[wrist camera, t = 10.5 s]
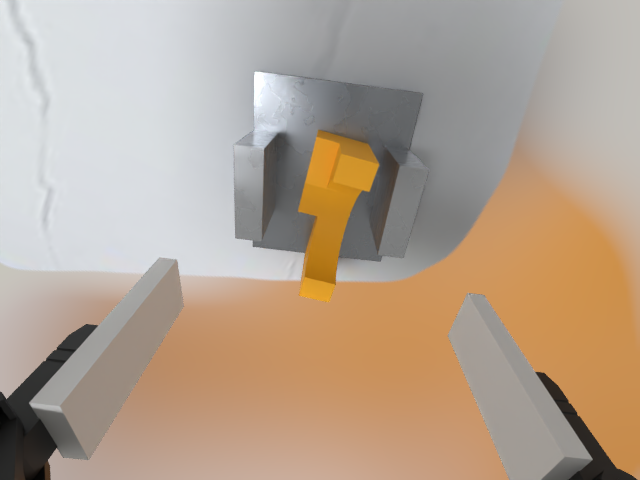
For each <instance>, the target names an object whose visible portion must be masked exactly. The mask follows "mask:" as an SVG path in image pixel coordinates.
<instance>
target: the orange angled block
mask: <svg viewBox="0 0 640 480" xmlns="http://www.w3.org/2000/svg"><path fill="white" fill-rule="evenodd" d="M378 167H379V163H378V161H377V159H376V157H375V155H374V153H373V151H372V150H371V148H370V146H369V144H367V143H363V142H360V141H356V140H353V139H349V138H346V137H342V136H339V135H335V134H332V133H328V132H325V131H321V130H318V133H317V137H316V141H315V145H314V149H313V153H312V157H311V161H310V165H309V169H308V173H307V177H306V181H305V185H304V189H303V193H302V197H301V201H300V205H299V209H298V212H302V213H306V214H310V215H314V216H316V217H315V221H314V224H313V228H312V231H311V235H310V238H309V242H308V245H307V249H306V253H305V257H304V264H303V271H302V278H301V286H300V292H299V296H303V297H307V298H312V299H316V300H321V301H325V302H329V301H330V298H331V296H332V293H333V290H334V288H335V285H336V269H337V262H338V257H339V251H340V247H341V242H342V238H343V235H344V231H345V228H346V225H347V221H348V218H349V216H350V213H351V210H352V208H353V206H354V203H355V201H356V199H357V198H358V196H359V194H360V193H361V192H362V190H364V191H368V192H369V191H370V189H371V186H372V183H373V180H374V178H375V175H376V172H377V169H378Z"/></svg>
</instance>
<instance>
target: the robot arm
mask: <svg viewBox="0 0 640 480" xmlns="http://www.w3.org/2000/svg"><path fill="white" fill-rule="evenodd" d="M183 307H184V304H183V297H182V291H181V284H180V277H179V270H178V263H177V260H176V259H167V258H159V259H158V260H157V261H156V262H155V263H154V264H153V265H152V267H151V268H150V269H149V270H148V271H147V272H146V273H145V274H144V275H143V277H142V278H141V279H140V280H139V281H138V282H137V283H136V284H135V286H134V287H133V288H132V289H131V290H130V291H129V292H128V293H127V294H126V295H125V297H124V298H123V299H122V300H121V301H120V302H119V303H118V304H117V306H116V307H115V308H114V309H113V310H112V311H111V312H110V313H109V314H108V316H107V317H106V318H105V319H104V320H103V321H102V322H101V324H99V325H89V324H86V325H84V326H83V327H81V328H79V329H78V330H76V331H75V332H73V333H71V334H70V335H69V336H68V337H67V338H66V339H65V340H64V341H63V342H62V343H61V344H60V345H59V346H58V347H57V350H54V351H53V352H52V353H51V354H50V355H49V356H48V357H47V359H46V361H44V362H42V363H41V365H40V366H39V367H38V368H37V369H36V370H35V371H34V372H33V373H32V374H31V375H30V376H29V377H28V378H27V379H26V380H25V381H24V382H23V383H22V384H21V385H20V386H19V387H18V388H17V389H16V390H15V391H14V392H13V393H12V395H10V396H9V398H7V399H6V398H5V396H4V395H3V394H2V392H0V480H50V465H49V463H48V459H49V458H50V456H51V455H52V453H53V452H54V451H55V449H56V448H57V449H58V450H59V452H60V454H61V455H62V457H63V458H73V459H84V460H89V459H90V458H91V456H92V455H93V453H94V451H95V450H96V448H97V446H98V445H99V443H100V442H101V440H102V438H103V437H104V435H105V433H106V432H107V430H108V429H109V427H110V425H111V424H112V422H113V420H114V419H115V417H116V416H117V414H118V412H119V411H120V409H121V407H122V406H123V404H124V403H125V401H126V399H127V398H128V396H129V395H130V393H131V391H132V390H133V388H134V386H135V385H136V383H137V382H138V380H139V378H140V377H141V375H142V373H143V372H144V370H145V369H146V367H147V365H148V364H149V362H150V360H151V359H152V357H153V355H154V354H155V352H156V351H157V349H158V347H159V346H160V344H161V343H162V341H163V339H164V338H165V336H166V334H167V333H168V331H169V329H170V328H171V326H172V325H173V323H174V321H175V320H176V318H177V317H178V315H179V313H180V312H181V310H182V308H183ZM448 337H449V339H450V342H451V344H452V347H453V349H454V351H455V354H456V356H457V358H458V361H459V363H460V365H461V368H462V370H463V372H464V375H465V377H466V379H467V382H468V384H469V386H470V389H471V391H472V394H473V396H474V398H475V401H476V403H477V405H478V407H479V410H480V412H481V415H482V417H483V419H484V421H485V424H486V426H487V429H488V431H489V433H490V435H491V438H492V440H493V442H494V445H495V447H496V449H497V452H498V454H499V457H500V459H501V461H502V464H503V466H504V468H505V471H506V473H507V475H508V478H509V480H637V479H636V478H634V477H633V476H632V475H630V474H628V473H626V472H624V471H622V470H620V469H617V468H616V467H615V465H614V464H613V463H612V462H611V460H610V459H609V457H608V456H607V455H606V453H605V452H604V450H603V449H602V447H601V446H600V445H599V443H598V442H597V440H596V439H595V437H594V436H593V435H592V433H591V432H590V430H589V429H588V428H587V426H586V425H585V423H584V422H583V421H582V419H581V418H580V417H579V416H578V415H577V412H576V411H575V409H574V408H573V406H572V405H571V404H569V402H568V399H567V398H566V396H565V395H564V394H563V392H562V391H561V389H560V388H559V387H558V385H557V384H555V383H554V382H553V381H552V380H551V379H550V378H549V377H548V376H547V375H546V374H545V373H541V372H535V371H534V370H533V368H532V367H531V365H530V364H529V362H528V361H527V359H526V358H525V356H524V355H523V353H522V352H521V350H520V349H519V347H518V346H517V344H516V343H515V341H514V339H513V338H512V336H511V335H510V333H509V332H508V330H507V329H506V328H505V326H504V324H503V323H502V322H501V320H500V318H499V317H498V315H497V314H496V312H495V311H494V309H493V308H492V306H491V305H490V304H489V302H488V300H487V299H486V297H485V296H484V295H480V294H472V293H467V295H466V297H465V299H464V302H463V304H462V306H461V308H460V310H459V313H458V314H457V317H456V319H455V321H454V323H453V325H452V327H451V330H450V331H449V334H448Z"/></svg>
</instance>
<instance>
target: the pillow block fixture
mask: <svg viewBox="0 0 640 480" xmlns="http://www.w3.org/2000/svg"><path fill="white" fill-rule="evenodd" d="M422 97H423V93H417V92H410V91H402V90H395V89H387V88H380V87H372V86H365V85H357V84H350V83H342V82H335V81H327V80H320V79H312V78H304V77H297V76H289V75H282V74H274V73H267V72H259V71H255V75H254V130H253V131H252V132H250V133H249V134H247V135H246V136H245V137H243V138H242V139H241V140H239V141H238V142H236V143H235V144H234V145H233V150H234V196H235V238H237V239H245V240H253V247H260V248H268V249H277V250H286V251H294V252H303V253H306V249H307V245H308V242H309V238H310V235H311V231H312V228H313V224H314V221H315V217H316V216H314V215H310V214H306V213H302V212H298V209H299V205H300V201H301V197H302V193H303V189H304V185H305V181H306V177H307V173H308V169H309V165H310V161H311V157H312V153H313V149H314V145H315V141H316V137H317V133H318V130H321V131H325V132H328V133H332V134H335V135H339V136H342V137H346V138H349V139H353V140H356V141H360V142H363V143H367V144H369V146H370V148H371V150H372V151H373V153H374V155H375V157H376V159H377V161H378V163H379V167H378V169H377V172H376V175H375V178H374V180H373V183H372V186H371V189H370V191H369V192H368V191H364V190H362V192H361V193H360V194H359V196H358V198H357V199H356V201H355V203H354V206H353V208H352V210H351V213H350V216H349V218H348V221H347V225H346V228H345V231H344V235H343V238H342V242H341V247H340V251H339V257H346V258H354V259H363V260H371V261H381V257H382V256H391V257H399V258H403V257H404V254H405V250H406V247H407V244H408V240H409V237H410V233H411V230H412V227H413V223H414V220H415V217H416V213H417V210H418V207H419V203H420V200H421V196H422V193H423V190H424V186H425V183H426V180H427V176H428V173H429V168H428V167H427V166H425V165H424V164H423V163H422V162H421V161H420V160H419V159H418V158H417V157H416V156H415V155H414V154H413V153H412V152H411V151H410V150H409V148H410V144H411V140H412V136H413V132H414V128H415V124H416V120H417V116H418V112H419V108H420V105H421V101H422Z"/></svg>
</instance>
